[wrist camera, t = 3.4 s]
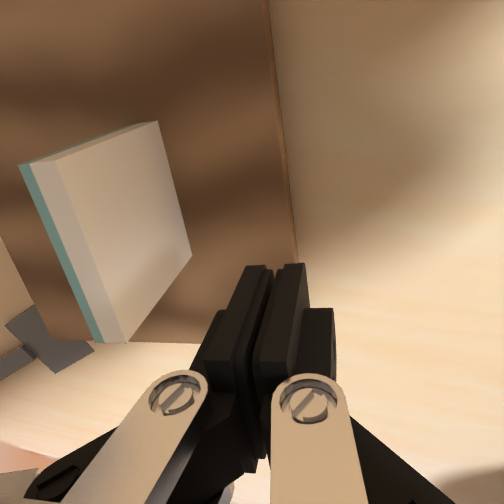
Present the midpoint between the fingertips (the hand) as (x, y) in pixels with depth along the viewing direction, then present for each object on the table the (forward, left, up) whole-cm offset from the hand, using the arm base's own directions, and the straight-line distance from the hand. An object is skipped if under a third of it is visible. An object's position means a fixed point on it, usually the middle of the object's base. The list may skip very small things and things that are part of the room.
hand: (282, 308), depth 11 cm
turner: (+14, -28, -12) cm, 33 cm away
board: (-1, -11, -12) cm, 16 cm away
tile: (-1, -8, -10) cm, 13 cm away
